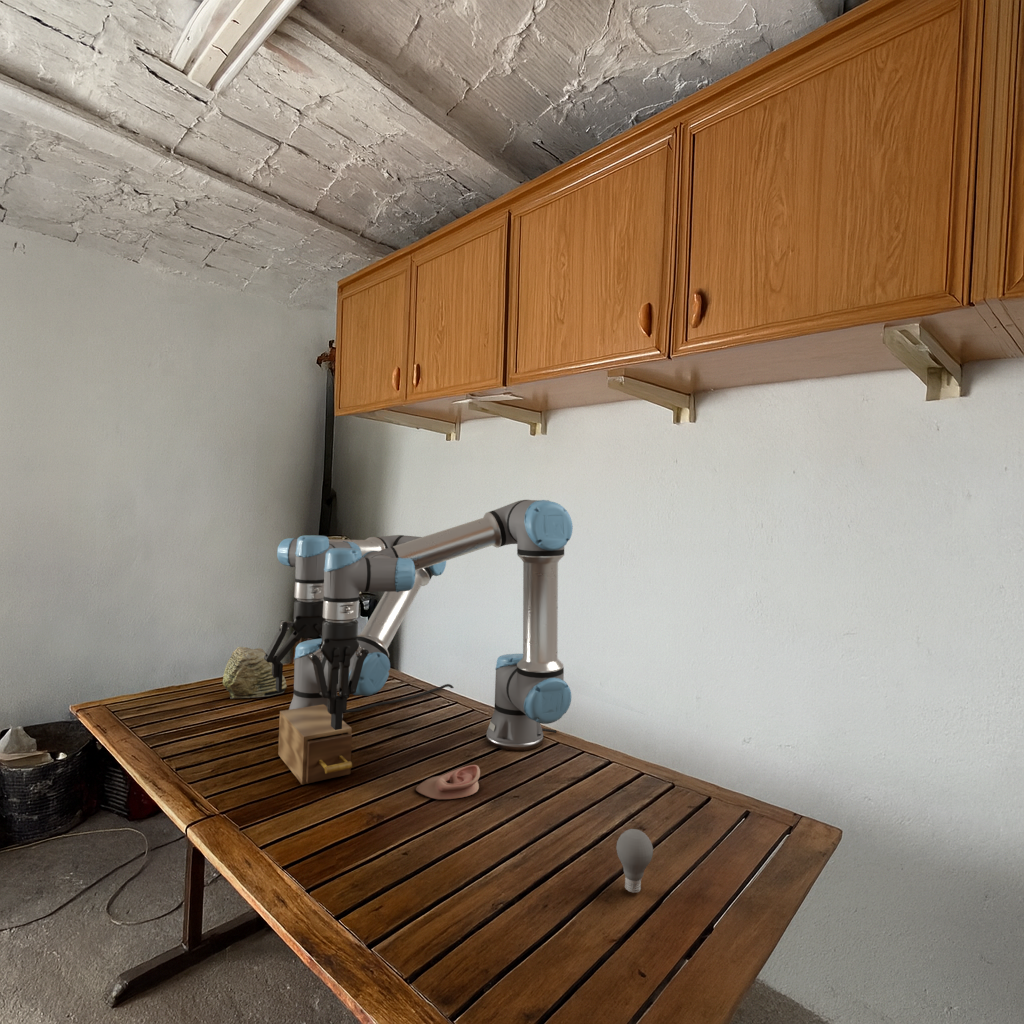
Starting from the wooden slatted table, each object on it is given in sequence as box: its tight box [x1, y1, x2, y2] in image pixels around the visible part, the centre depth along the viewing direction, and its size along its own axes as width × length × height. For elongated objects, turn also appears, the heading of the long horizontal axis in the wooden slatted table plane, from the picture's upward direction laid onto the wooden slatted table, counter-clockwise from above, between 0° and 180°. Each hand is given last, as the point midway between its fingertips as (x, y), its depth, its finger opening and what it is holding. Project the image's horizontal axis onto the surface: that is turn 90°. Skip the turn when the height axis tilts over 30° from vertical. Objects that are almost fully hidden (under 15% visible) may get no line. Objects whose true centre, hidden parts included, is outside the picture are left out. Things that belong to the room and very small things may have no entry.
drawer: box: [306, 733, 353, 784], centre depth 145 cm, size 23×10×9 cm, turn 36°
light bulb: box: [615, 828, 654, 894], centre depth 106 cm, size 6×6×10 cm
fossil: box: [222, 646, 288, 699], centre depth 198 cm, size 9×18×15 cm, turn 132°
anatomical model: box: [415, 764, 481, 800], centre depth 140 cm, size 13×4×12 cm
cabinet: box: [277, 704, 353, 786], centre depth 149 cm, size 19×11×11 cm, turn 36°
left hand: (307, 686), depth 154 cm, fingers open, 13 cm apart
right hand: (336, 727), depth 138 cm, fingers closed
